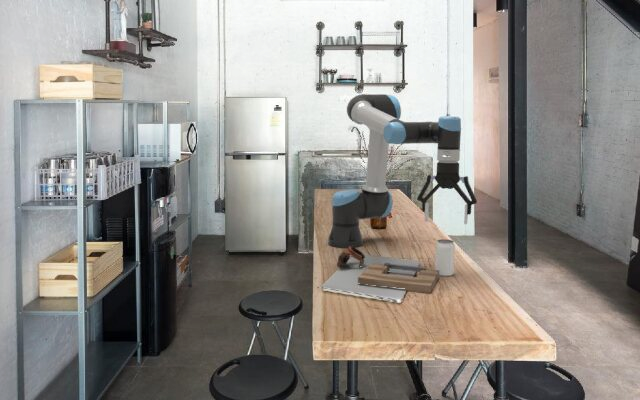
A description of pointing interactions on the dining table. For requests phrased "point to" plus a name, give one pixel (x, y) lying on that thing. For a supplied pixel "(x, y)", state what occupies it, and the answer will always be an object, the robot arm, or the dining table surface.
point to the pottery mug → (354, 253)
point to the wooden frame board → (399, 279)
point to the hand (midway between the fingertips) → (445, 222)
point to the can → (445, 257)
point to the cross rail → (404, 267)
